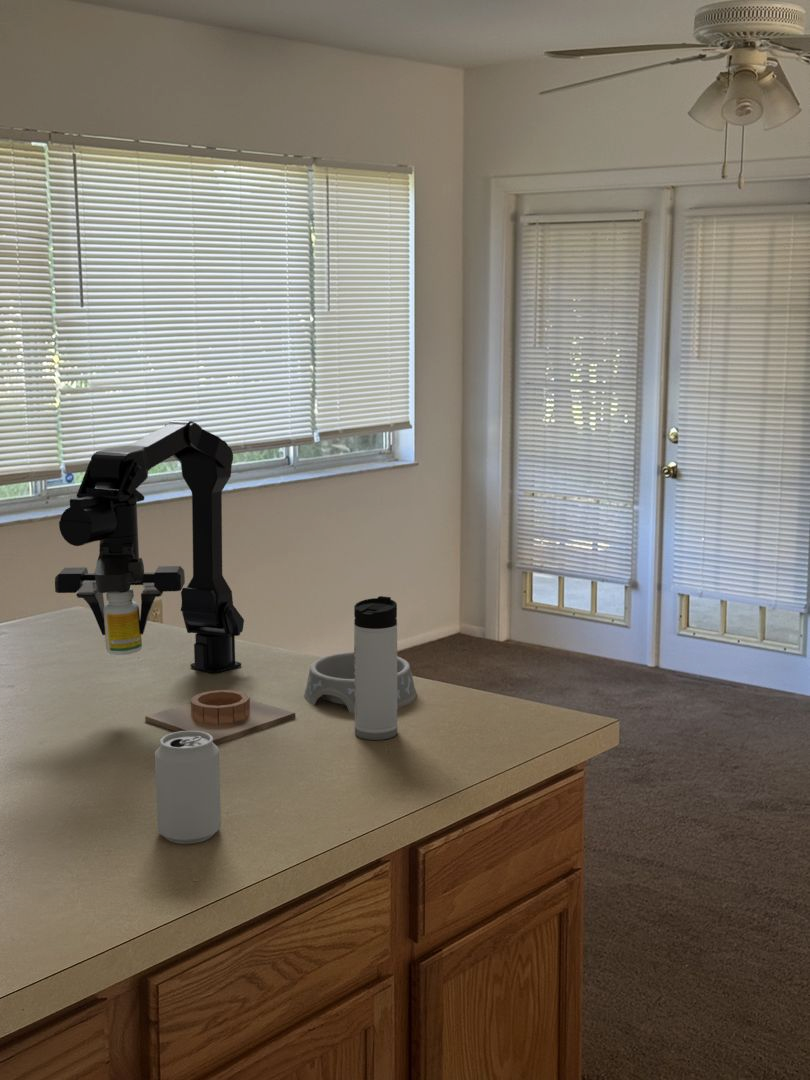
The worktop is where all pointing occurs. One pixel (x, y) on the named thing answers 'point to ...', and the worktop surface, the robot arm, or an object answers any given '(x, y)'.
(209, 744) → the can
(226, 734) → the collar board
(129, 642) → the supplement bottle
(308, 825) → the worktop surface
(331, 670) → the dog bowl
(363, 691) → the travel mug
